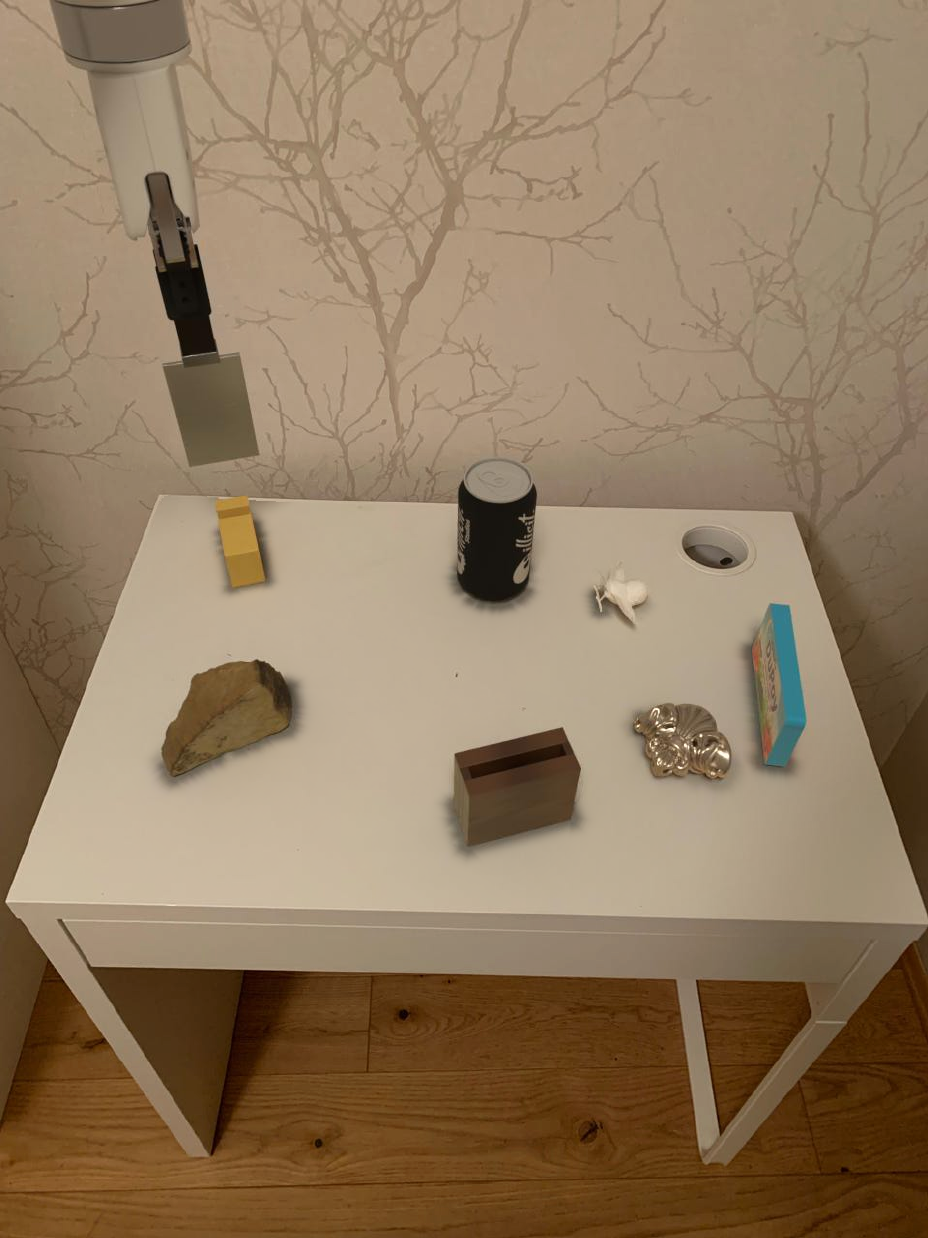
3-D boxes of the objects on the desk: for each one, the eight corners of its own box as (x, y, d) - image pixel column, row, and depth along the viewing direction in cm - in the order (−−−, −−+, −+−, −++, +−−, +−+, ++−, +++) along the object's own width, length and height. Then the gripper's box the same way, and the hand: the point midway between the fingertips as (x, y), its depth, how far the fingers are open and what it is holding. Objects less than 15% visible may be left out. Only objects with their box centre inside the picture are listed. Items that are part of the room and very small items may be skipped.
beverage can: (500, 617, 81) (507, 515, 72) (442, 584, 83) (442, 481, 74) (542, 575, 84) (553, 473, 75) (485, 545, 87) (489, 443, 78)
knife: (190, 473, 78) (129, 245, 63) (188, 458, 79) (127, 232, 64) (260, 460, 79) (217, 235, 64) (257, 447, 80) (213, 222, 65)
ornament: (608, 754, 71) (615, 727, 69) (655, 700, 75) (663, 673, 72) (698, 813, 68) (708, 787, 65) (742, 754, 71) (754, 727, 69)
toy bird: (660, 631, 79) (649, 597, 76) (608, 646, 80) (595, 612, 77) (642, 566, 84) (632, 531, 81) (594, 580, 85) (581, 546, 82)
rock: (144, 797, 65) (281, 775, 65) (116, 683, 64) (256, 660, 64) (187, 746, 76) (305, 727, 76) (164, 647, 74) (284, 628, 74)
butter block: (232, 588, 83) (224, 556, 80) (225, 551, 86) (218, 519, 83) (265, 581, 83) (259, 549, 80) (257, 545, 86) (251, 513, 83)
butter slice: (224, 542, 86) (216, 510, 84) (222, 532, 87) (214, 500, 84) (256, 536, 87) (249, 504, 84) (254, 526, 88) (247, 494, 85)
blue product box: (783, 769, 71) (807, 722, 66) (764, 767, 71) (786, 720, 66) (769, 651, 79) (789, 602, 74) (751, 649, 79) (770, 600, 74)
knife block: (467, 847, 66) (469, 796, 61) (453, 805, 68) (454, 752, 63) (570, 820, 67) (581, 768, 62) (554, 779, 70) (562, 726, 64)
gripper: (57, -8, 59) (131, 264, 73) (58, 75, 49) (143, 373, 63) (175, -16, 60) (226, 252, 74) (200, 63, 50) (253, 356, 64)
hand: (188, 305), depth 68 cm, fingers closed on knife, 1 cm apart
